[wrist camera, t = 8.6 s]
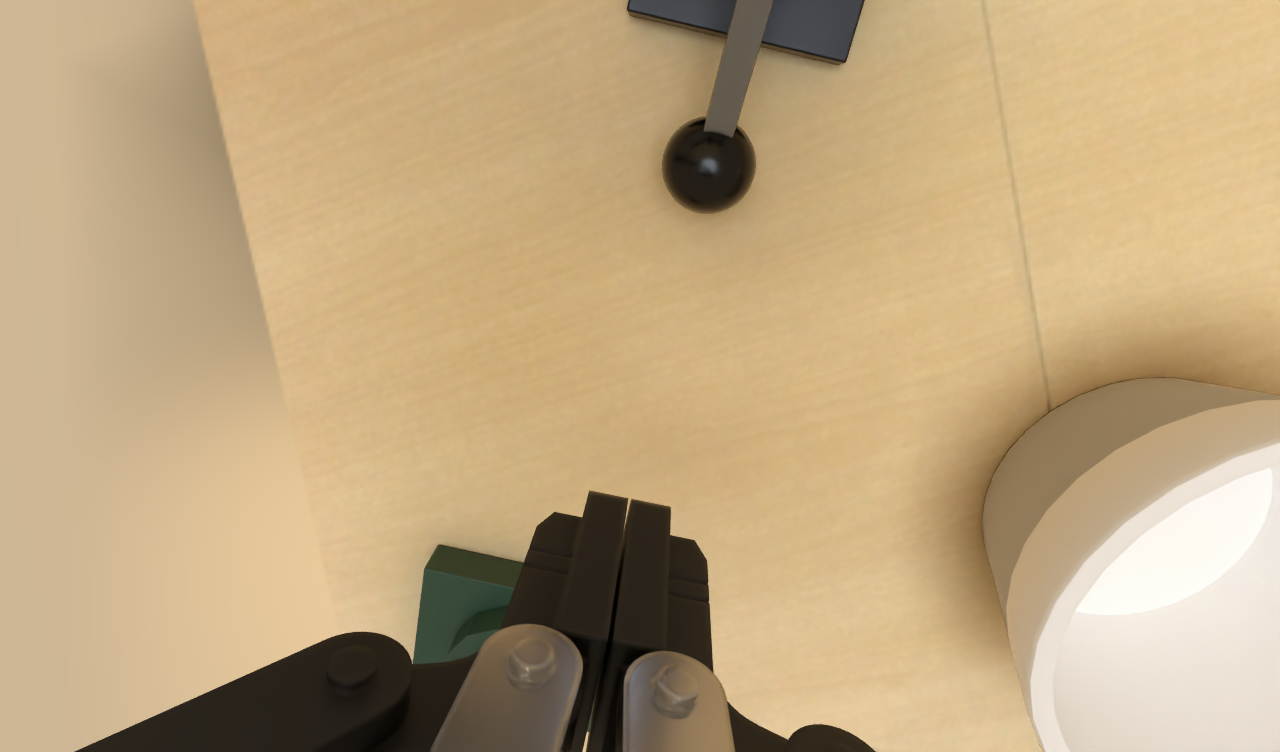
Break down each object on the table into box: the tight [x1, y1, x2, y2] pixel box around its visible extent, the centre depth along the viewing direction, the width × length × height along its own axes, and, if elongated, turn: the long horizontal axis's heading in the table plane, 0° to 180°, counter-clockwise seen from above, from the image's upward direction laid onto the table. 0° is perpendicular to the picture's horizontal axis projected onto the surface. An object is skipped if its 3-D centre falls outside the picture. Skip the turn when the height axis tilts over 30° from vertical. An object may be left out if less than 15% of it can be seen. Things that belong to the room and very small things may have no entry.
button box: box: [413, 545, 594, 732], centre depth 37 cm, size 11×9×4 cm
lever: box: [662, 0, 774, 214], centre depth 21 cm, size 15×4×4 cm
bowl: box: [982, 378, 1280, 752], centre depth 29 cm, size 19×19×11 cm
